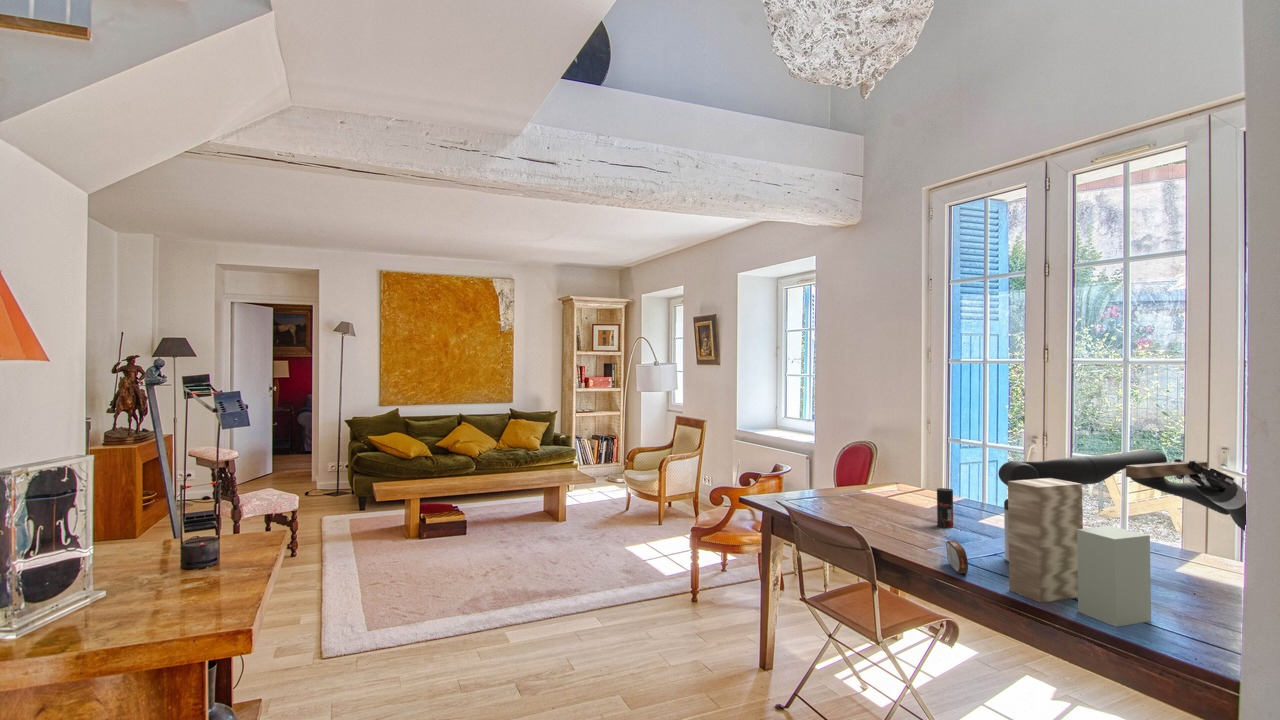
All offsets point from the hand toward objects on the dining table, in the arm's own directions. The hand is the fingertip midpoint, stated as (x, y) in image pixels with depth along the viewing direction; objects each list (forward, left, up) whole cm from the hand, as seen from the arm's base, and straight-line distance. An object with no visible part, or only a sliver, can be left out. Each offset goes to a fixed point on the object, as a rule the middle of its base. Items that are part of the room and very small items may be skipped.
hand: (1183, 462), depth 170 cm
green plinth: (+26, 0, -39) cm, 47 cm away
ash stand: (+28, -18, -39) cm, 51 cm away
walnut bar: (+6, 0, -3) cm, 7 cm away
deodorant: (0, -88, -39) cm, 96 cm away
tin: (+37, -43, -39) cm, 69 cm away
